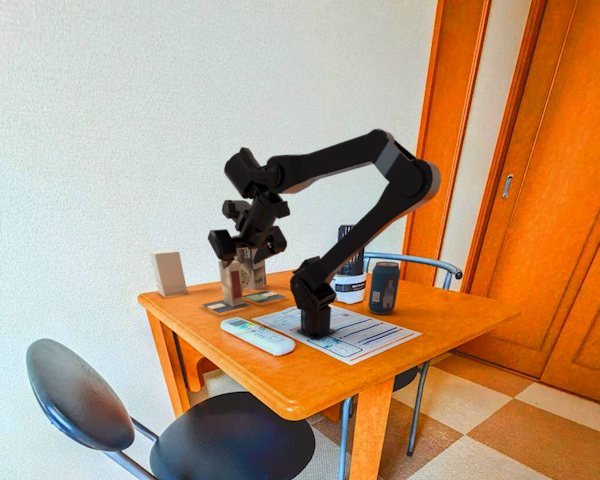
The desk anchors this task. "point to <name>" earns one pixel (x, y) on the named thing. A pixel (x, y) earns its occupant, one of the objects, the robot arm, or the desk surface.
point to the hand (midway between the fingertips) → (239, 265)
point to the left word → (223, 306)
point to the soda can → (384, 287)
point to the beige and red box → (231, 284)
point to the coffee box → (250, 269)
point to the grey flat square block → (263, 296)
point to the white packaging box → (168, 272)
